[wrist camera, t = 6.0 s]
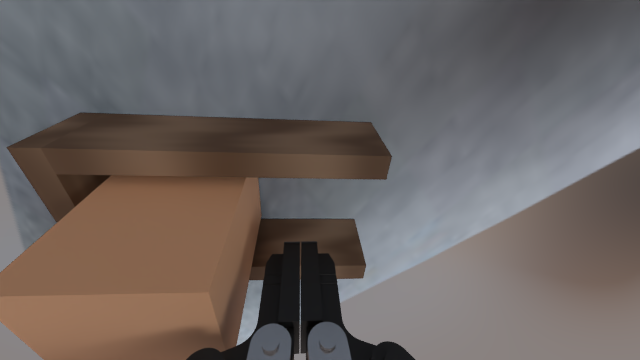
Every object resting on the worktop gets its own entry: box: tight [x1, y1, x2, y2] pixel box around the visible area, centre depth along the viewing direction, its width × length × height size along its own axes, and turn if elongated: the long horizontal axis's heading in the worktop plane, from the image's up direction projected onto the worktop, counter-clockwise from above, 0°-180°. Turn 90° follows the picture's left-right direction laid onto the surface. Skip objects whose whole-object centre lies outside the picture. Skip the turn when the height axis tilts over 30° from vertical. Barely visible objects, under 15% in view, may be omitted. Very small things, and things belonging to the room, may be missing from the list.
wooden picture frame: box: [7, 113, 392, 280], centre depth 15 cm, size 15×8×4 cm, turn 87°
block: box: [0, 175, 261, 360], centre depth 12 cm, size 6×5×9 cm
